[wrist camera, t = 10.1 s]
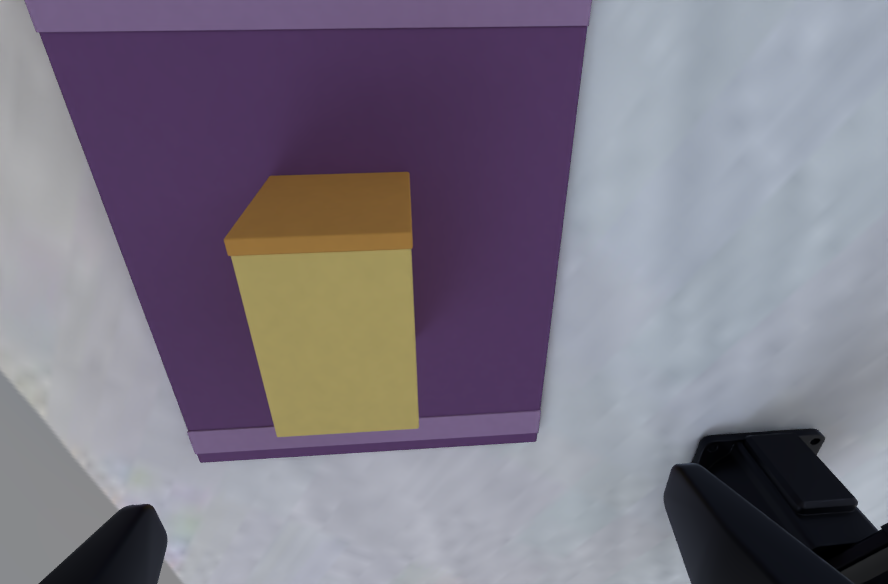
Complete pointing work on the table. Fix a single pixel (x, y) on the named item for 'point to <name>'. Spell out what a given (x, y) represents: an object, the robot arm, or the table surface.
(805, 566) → the robot arm
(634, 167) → the table surface
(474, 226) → the towel
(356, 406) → the cheese
